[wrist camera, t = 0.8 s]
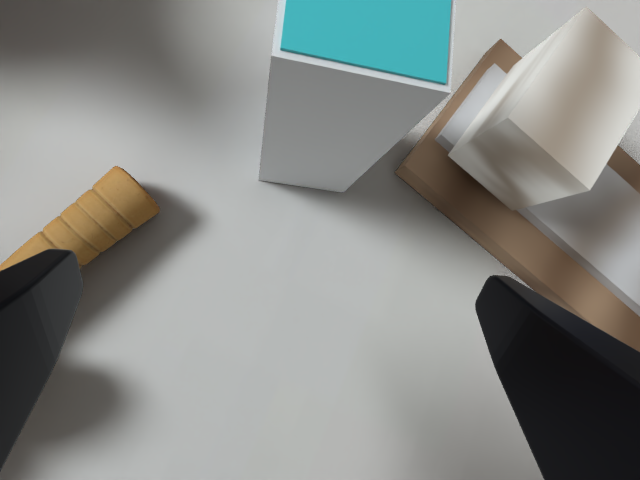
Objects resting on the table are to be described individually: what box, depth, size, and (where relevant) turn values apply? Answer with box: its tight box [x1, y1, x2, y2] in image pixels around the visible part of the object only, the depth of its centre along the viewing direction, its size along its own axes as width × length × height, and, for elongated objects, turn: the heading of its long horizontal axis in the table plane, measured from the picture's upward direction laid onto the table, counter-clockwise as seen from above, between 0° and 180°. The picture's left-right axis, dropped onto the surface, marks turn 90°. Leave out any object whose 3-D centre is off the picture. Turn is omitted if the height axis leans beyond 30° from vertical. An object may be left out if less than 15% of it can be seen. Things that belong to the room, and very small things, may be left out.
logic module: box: [259, 0, 456, 193], centre depth 16 cm, size 5×5×12 cm
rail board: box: [395, 6, 640, 352], centre depth 21 cm, size 25×11×7 cm, turn 52°
